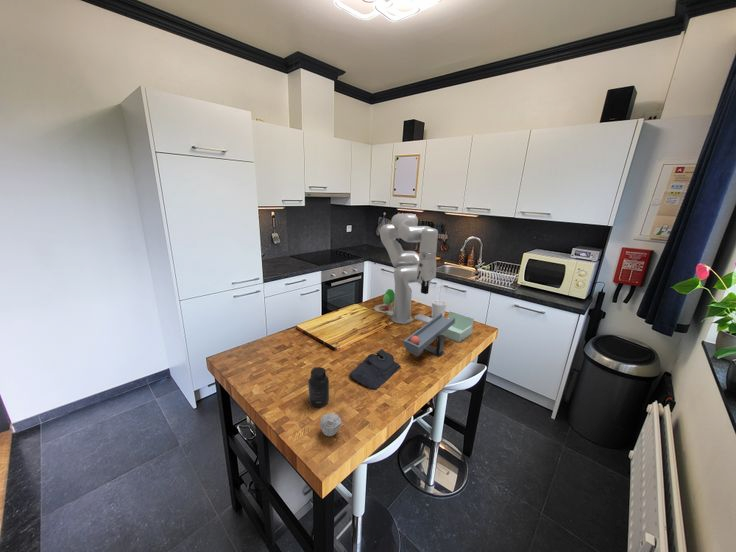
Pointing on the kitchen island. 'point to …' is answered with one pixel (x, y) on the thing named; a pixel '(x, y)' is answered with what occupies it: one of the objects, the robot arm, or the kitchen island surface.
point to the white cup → (438, 308)
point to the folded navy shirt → (375, 370)
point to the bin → (459, 327)
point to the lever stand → (439, 349)
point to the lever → (427, 332)
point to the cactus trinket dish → (387, 301)
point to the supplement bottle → (318, 387)
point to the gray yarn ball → (330, 424)
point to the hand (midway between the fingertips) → (424, 293)
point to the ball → (415, 340)
